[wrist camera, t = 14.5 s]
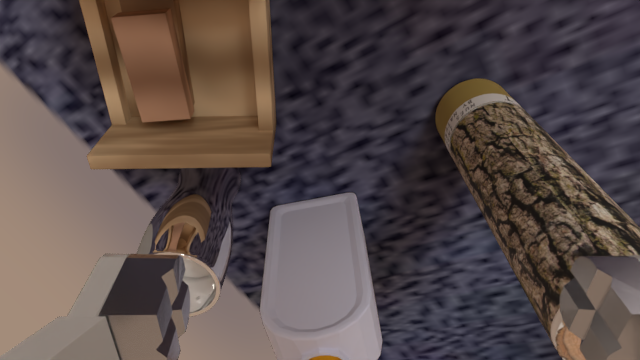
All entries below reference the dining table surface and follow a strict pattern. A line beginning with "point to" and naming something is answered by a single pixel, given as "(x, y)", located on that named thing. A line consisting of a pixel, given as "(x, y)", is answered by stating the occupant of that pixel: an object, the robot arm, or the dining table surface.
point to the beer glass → (197, 230)
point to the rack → (208, 89)
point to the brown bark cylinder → (531, 198)
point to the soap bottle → (319, 283)
